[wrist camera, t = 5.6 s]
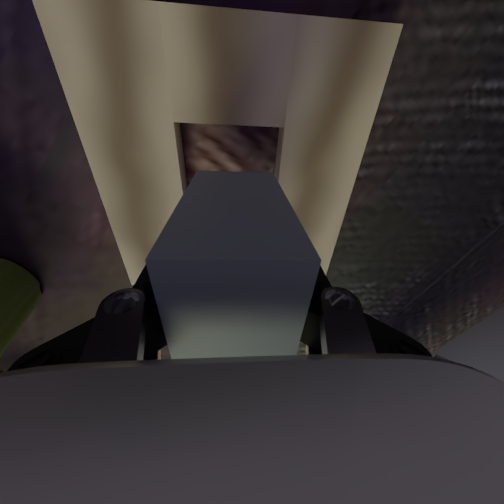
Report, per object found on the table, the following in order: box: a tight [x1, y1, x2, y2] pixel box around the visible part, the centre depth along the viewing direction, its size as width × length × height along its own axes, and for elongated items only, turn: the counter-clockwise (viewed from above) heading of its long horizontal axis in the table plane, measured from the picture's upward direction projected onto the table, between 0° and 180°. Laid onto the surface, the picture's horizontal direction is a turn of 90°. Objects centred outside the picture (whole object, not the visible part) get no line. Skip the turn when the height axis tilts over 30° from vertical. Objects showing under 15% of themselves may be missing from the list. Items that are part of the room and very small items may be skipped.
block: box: [145, 170, 322, 359], centre depth 11 cm, size 4×6×9 cm
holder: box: [32, 0, 403, 285], centre depth 18 cm, size 20×20×2 cm
